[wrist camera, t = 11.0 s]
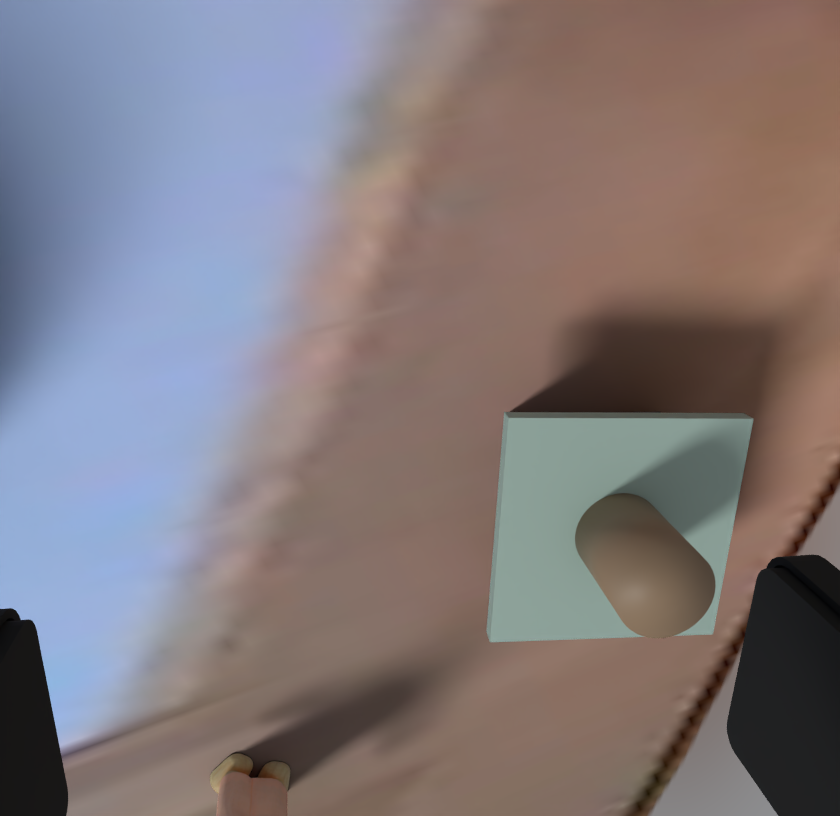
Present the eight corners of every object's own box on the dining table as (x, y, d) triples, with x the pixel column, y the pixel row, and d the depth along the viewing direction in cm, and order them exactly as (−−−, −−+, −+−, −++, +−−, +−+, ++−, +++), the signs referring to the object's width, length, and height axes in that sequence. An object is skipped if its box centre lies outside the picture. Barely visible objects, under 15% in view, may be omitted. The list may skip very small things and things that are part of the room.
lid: (504, 412, 31) (541, 462, 26) (743, 413, 33) (827, 461, 27) (486, 632, 35) (516, 718, 29) (704, 624, 36) (772, 705, 31)
